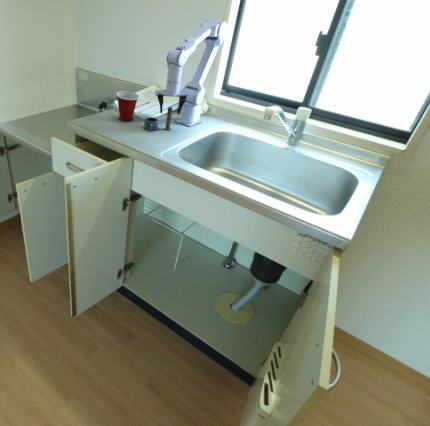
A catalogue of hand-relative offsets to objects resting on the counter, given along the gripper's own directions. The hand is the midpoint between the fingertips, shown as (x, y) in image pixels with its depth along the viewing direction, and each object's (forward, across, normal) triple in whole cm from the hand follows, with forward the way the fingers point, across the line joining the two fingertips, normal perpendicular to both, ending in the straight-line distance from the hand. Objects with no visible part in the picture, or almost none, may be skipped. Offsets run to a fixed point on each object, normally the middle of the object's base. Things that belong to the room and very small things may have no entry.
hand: (169, 113), depth 146 cm
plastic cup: (+8, -19, +10) cm, 23 cm away
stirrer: (+8, 0, 0) cm, 8 cm away
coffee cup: (+8, -8, 0) cm, 11 cm away
